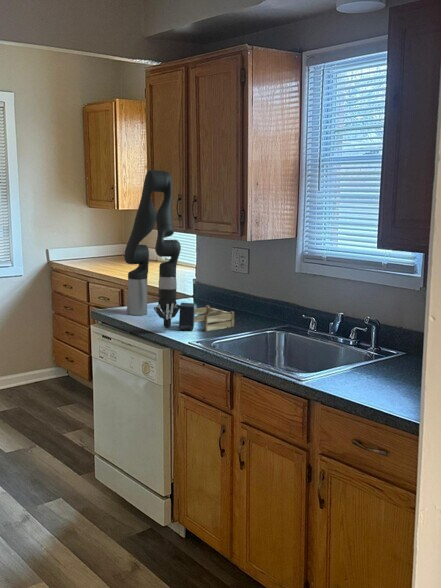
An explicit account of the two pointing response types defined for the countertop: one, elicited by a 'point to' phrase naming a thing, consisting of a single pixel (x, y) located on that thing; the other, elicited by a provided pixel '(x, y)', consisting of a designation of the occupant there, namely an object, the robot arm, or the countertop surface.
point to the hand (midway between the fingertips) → (167, 327)
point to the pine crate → (214, 318)
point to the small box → (187, 316)
